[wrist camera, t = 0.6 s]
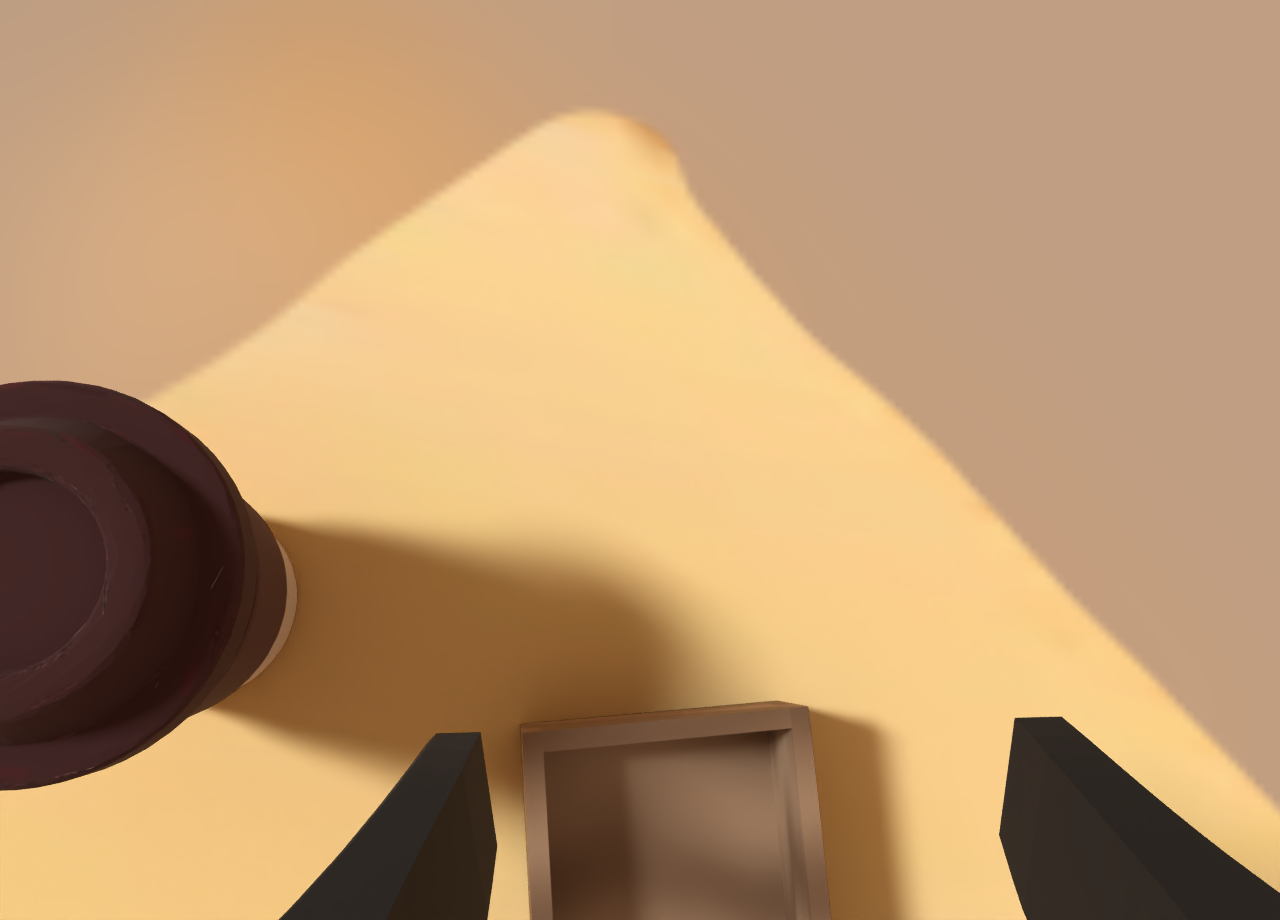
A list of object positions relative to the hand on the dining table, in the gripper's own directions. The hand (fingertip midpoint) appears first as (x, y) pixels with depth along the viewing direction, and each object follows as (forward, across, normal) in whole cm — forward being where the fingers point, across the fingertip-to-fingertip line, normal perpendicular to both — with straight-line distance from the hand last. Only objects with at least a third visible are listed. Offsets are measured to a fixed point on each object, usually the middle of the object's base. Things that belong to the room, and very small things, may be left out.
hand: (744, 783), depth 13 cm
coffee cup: (+20, +19, +9) cm, 29 cm away
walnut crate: (+17, +2, +20) cm, 26 cm away
